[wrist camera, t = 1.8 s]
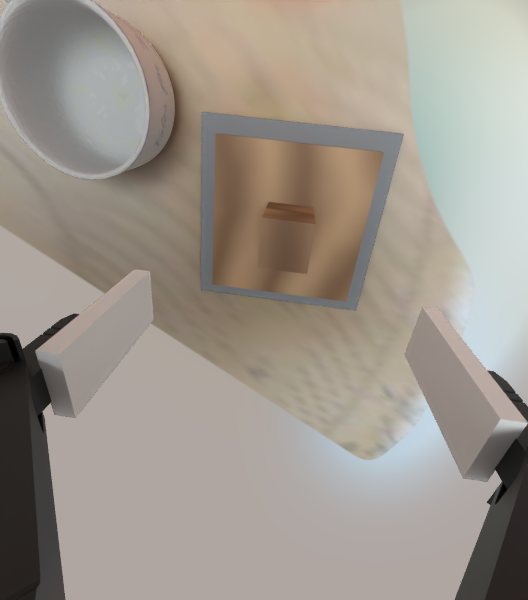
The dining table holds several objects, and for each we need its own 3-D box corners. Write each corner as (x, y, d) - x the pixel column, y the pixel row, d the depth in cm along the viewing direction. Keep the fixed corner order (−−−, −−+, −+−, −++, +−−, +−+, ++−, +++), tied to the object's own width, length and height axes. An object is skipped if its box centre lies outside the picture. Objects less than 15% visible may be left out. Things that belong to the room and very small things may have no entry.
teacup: (204, 151, 29) (174, 157, 22) (102, 182, 31) (45, 197, 24) (138, -54, 23) (67, -135, 16) (18, 3, 25) (-90, -46, 18)
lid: (214, 279, 34) (195, 313, 28) (218, 133, 28) (194, 134, 21) (344, 296, 34) (355, 334, 27) (380, 151, 27) (405, 157, 21)
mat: (202, 287, 36) (201, 290, 35) (203, 112, 28) (201, 111, 27) (354, 307, 35) (355, 310, 34) (401, 133, 27) (403, 133, 26)
